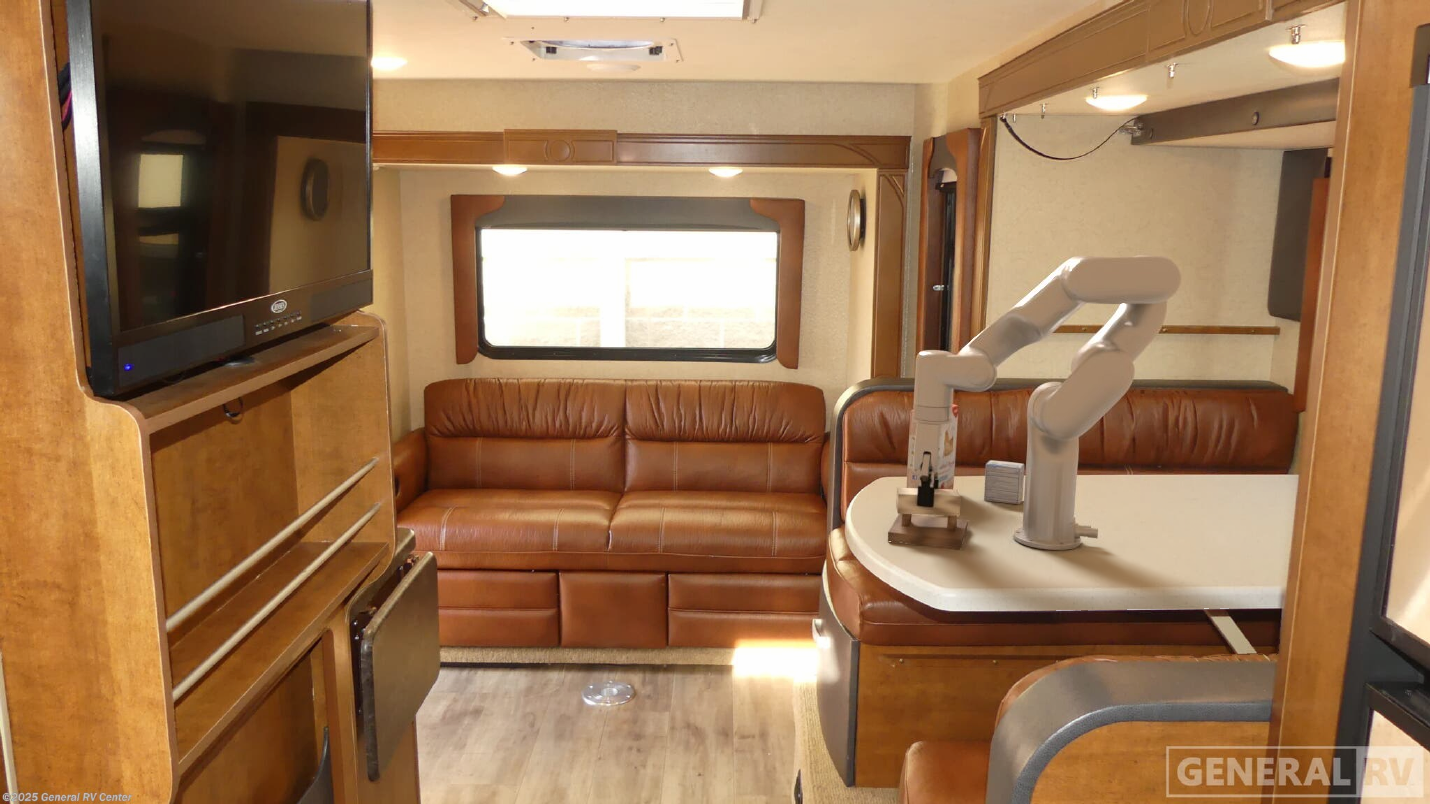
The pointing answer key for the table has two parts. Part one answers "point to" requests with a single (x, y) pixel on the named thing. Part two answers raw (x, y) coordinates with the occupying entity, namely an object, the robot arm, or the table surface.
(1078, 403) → the robot arm
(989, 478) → the medicine box
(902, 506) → the beige wooden block
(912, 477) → the cracker box
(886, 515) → the table surface
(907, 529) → the peg board
